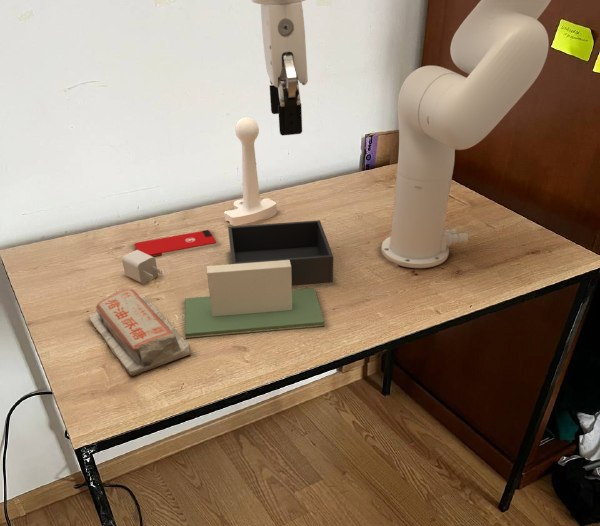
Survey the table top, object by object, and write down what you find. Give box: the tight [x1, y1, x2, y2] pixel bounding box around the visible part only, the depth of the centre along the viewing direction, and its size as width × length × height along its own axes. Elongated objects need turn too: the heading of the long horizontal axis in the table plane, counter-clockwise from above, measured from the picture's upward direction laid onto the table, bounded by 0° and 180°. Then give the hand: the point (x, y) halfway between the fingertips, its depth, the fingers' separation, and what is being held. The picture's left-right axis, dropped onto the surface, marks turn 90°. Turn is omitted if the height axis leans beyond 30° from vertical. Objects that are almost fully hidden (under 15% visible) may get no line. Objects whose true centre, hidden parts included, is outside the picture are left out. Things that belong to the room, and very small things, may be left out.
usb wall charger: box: [121, 249, 163, 285], centre depth 109 cm, size 4×7×4 cm, turn 50°
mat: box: [184, 287, 325, 340], centre depth 101 cm, size 22×10×1 cm, turn 98°
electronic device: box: [134, 229, 217, 257], centre depth 119 cm, size 6×1×15 cm
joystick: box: [223, 116, 278, 226], centre depth 123 cm, size 11×8×20 cm
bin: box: [227, 219, 334, 287], centre depth 111 cm, size 17×14×6 cm
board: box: [206, 260, 293, 317], centre depth 98 cm, size 13×2×8 cm, turn 98°
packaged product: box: [87, 288, 191, 377], centre depth 95 cm, size 18×5×10 cm
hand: (286, 123), depth 92 cm, fingers open, 9 cm apart
